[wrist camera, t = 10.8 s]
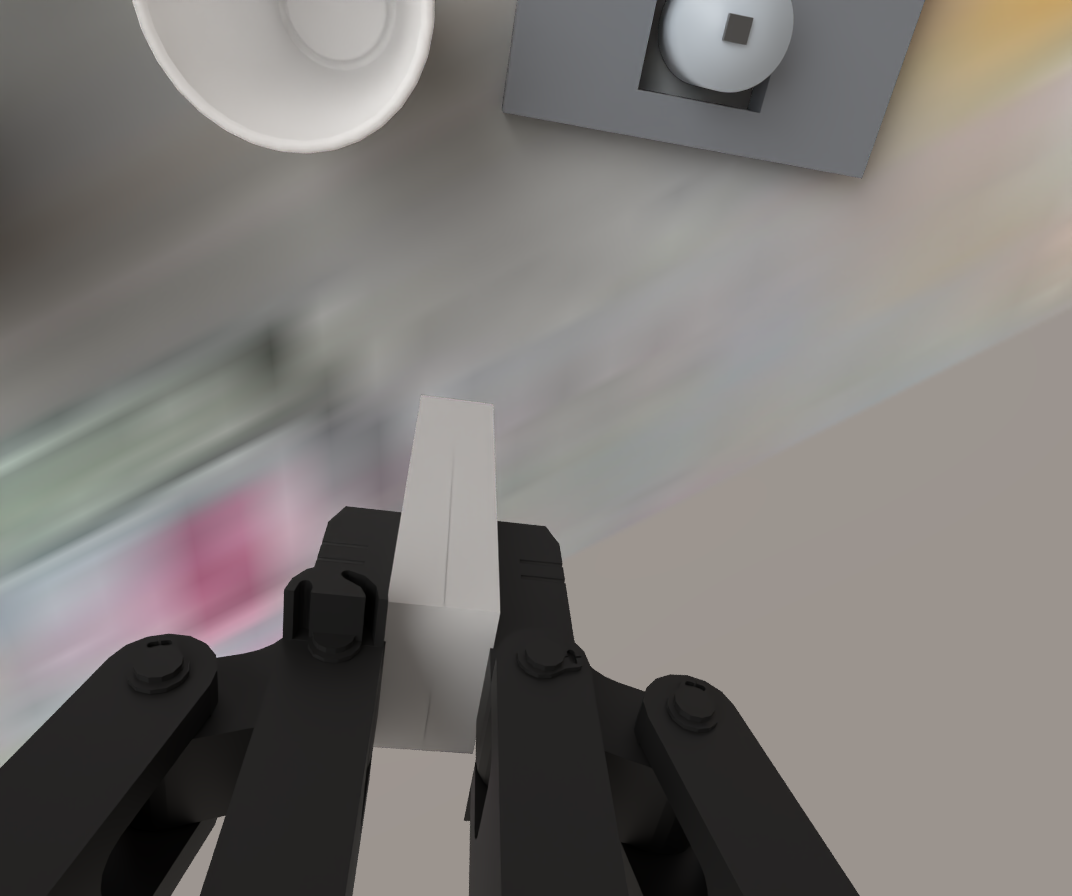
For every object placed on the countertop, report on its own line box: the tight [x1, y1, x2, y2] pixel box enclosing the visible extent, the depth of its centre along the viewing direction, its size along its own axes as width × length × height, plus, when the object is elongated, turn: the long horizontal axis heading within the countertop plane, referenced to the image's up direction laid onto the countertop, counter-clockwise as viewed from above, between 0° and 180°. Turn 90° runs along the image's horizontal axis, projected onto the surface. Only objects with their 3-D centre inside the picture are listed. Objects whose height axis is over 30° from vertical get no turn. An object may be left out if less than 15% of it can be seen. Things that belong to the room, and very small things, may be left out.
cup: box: [132, 0, 435, 154], centre depth 30 cm, size 10×10×11 cm
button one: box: [658, 0, 794, 93], centre depth 34 cm, size 5×5×5 cm
